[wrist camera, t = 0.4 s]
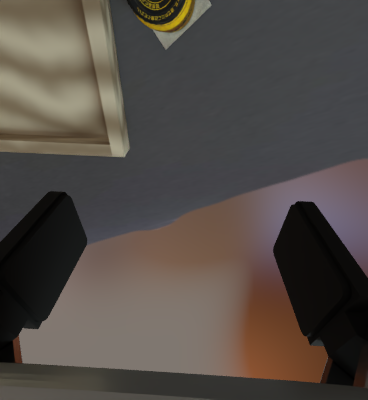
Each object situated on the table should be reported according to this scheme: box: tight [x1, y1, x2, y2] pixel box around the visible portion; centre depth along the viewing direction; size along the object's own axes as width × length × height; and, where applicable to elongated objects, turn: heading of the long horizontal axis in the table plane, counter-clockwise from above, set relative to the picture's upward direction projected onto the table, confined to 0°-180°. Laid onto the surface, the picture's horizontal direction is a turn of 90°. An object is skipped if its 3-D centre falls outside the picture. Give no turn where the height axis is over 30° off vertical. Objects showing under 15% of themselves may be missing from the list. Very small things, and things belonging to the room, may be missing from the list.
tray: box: [0, 0, 130, 157], centre depth 29 cm, size 24×24×4 cm
